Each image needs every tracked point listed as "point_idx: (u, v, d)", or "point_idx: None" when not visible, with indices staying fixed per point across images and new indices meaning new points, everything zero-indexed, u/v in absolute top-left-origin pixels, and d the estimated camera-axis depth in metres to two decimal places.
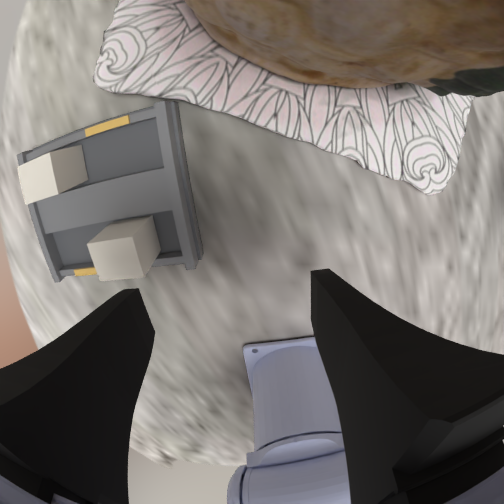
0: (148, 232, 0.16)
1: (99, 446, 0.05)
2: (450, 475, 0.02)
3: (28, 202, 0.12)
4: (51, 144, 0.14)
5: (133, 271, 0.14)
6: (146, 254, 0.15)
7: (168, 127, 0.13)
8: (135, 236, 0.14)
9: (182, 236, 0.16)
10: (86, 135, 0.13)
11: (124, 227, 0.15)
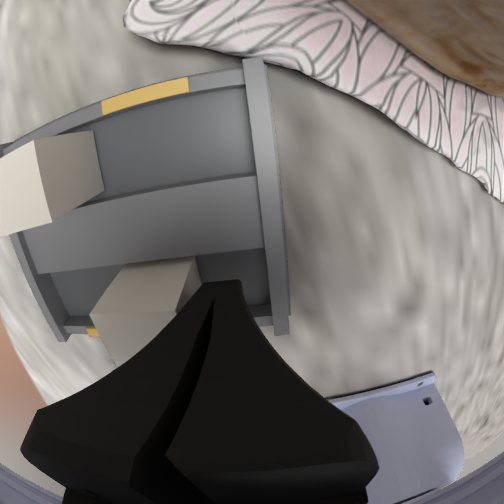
0: (192, 287, 0.10)
1: None
2: None
3: (1, 233, 0.06)
4: (41, 130, 0.08)
5: None
6: None
7: (268, 104, 0.07)
8: (179, 306, 0.08)
9: (276, 290, 0.10)
10: (103, 112, 0.07)
11: (151, 280, 0.09)
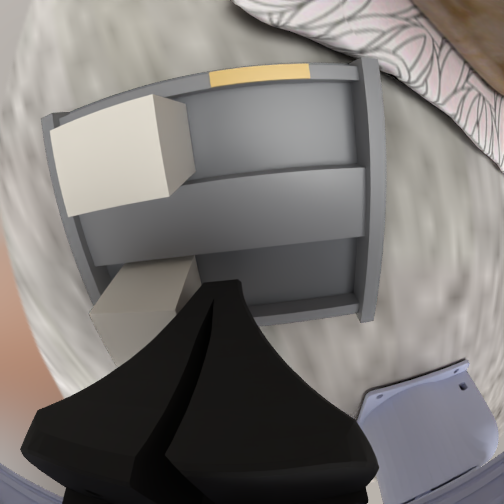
0: (192, 287, 0.10)
1: None
2: None
3: (76, 211, 0.06)
4: (120, 97, 0.07)
5: None
6: None
7: (382, 103, 0.07)
8: (179, 306, 0.08)
9: (371, 278, 0.10)
10: (211, 84, 0.07)
11: (151, 280, 0.09)
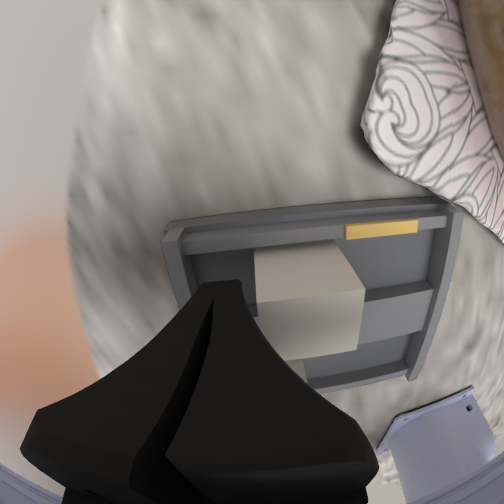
0: None
1: None
2: None
3: None
4: (258, 236, 0.10)
5: None
6: None
7: (457, 246, 0.10)
8: None
9: (421, 355, 0.12)
10: (346, 236, 0.09)
11: None
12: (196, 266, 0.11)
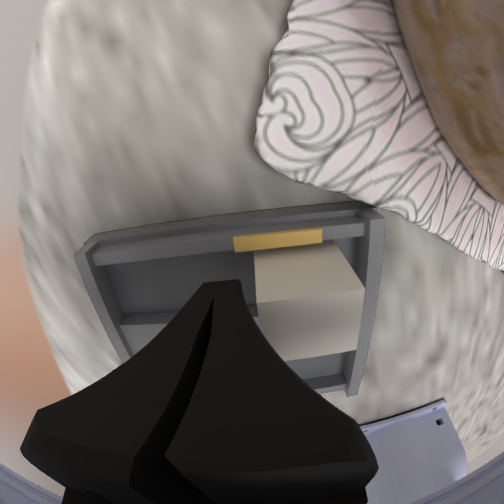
0: None
1: None
2: None
3: None
4: (150, 249, 0.10)
5: None
6: None
7: (381, 257, 0.10)
8: None
9: (356, 372, 0.12)
10: (235, 249, 0.10)
11: None
12: (112, 275, 0.11)
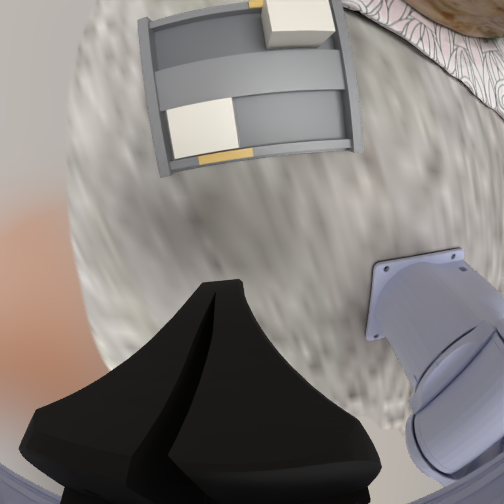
0: (235, 113, 0.13)
1: None
2: None
3: (279, 29, 0.10)
4: (194, 11, 0.11)
5: (225, 140, 0.12)
6: None
7: (344, 16, 0.11)
8: (232, 101, 0.12)
9: (354, 115, 0.14)
10: (249, 6, 0.11)
11: None
12: (157, 43, 0.12)
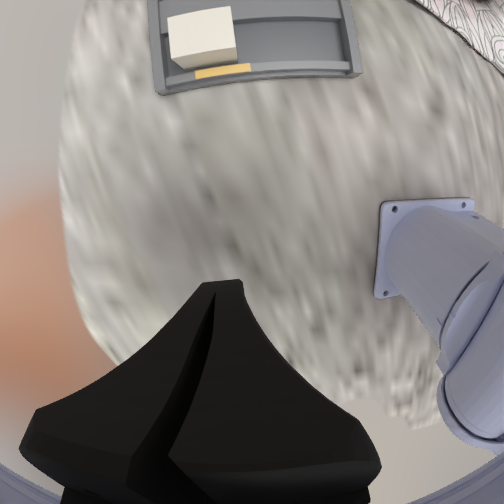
0: None
1: None
2: None
3: None
4: None
5: (222, 40, 0.10)
6: None
7: None
8: None
9: (352, 39, 0.12)
10: None
11: None
12: None
